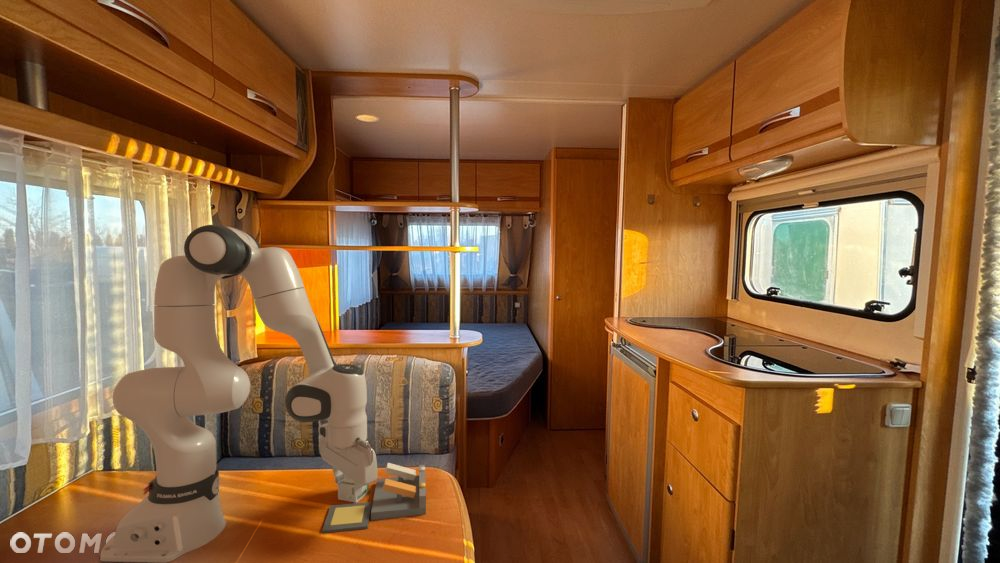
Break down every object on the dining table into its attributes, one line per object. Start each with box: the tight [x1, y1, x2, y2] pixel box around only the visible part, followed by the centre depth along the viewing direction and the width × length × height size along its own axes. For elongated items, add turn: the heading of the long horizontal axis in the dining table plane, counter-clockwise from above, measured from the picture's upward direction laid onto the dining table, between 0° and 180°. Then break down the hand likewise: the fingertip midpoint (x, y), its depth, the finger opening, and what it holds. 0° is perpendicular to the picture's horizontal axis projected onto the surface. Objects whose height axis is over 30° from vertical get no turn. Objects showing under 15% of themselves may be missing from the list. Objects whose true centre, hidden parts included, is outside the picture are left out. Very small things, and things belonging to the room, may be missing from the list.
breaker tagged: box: [383, 479, 416, 498], centre depth 110 cm, size 8×3×2 cm, turn 101°
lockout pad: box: [321, 501, 373, 534], centre depth 105 cm, size 10×10×1 cm
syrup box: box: [337, 439, 370, 504], centre depth 114 cm, size 6×6×14 cm
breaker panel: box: [370, 464, 427, 522], centre depth 113 cm, size 13×16×6 cm
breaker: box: [384, 462, 417, 481], centre depth 118 cm, size 8×3×2 cm, turn 101°
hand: (348, 488), depth 105 cm, fingers open, 6 cm apart
